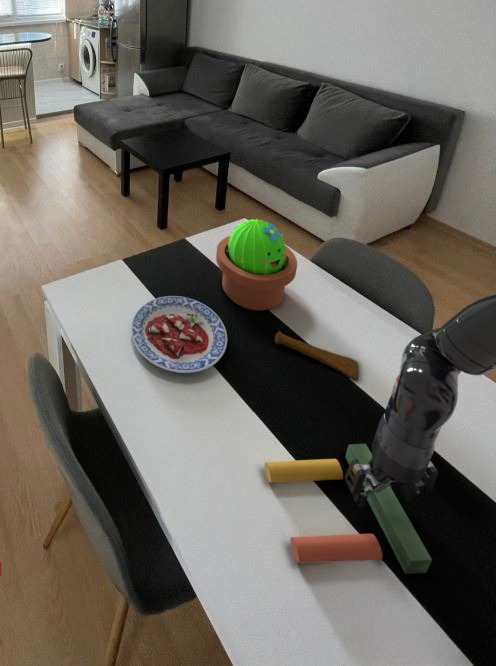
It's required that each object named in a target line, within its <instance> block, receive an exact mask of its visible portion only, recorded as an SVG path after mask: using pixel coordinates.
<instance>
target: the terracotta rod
mask: <svg viewBox="0 0 496 666" xmlns="http://www.w3.org/2000/svg"><path fill="white" fill-rule="evenodd" d="M289 541H290V547H291V552H292V555H293V558H294V560H295V562H296V563H297V564H309V563H310V564H311V563H333V562H359V561H361V562H362V561H381V560H382V559H383V551H382V547H381V545H380V543H379V540H378V539H377V537H376V536H375V534H373V533H359V534H358V533H357V534H333V535H332V534H331V535H330V534H329V535H328V534H327V535H308V536H291V537H290V539H289Z"/></svg>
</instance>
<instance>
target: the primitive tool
mask: <svg viewBox="0 0 496 666" xmlns="http://www.w3.org/2000/svg"><path fill="white" fill-rule="evenodd" d="M274 343H275V345H282V346H285V347H287V348H289V349H292V350H294V351H296V352H298V353H300V354H303V356H306V357H310V358H311V359H314V360H316V361H318V362H320V363H322V364H323V365H326V366H329V367H330V368H332V369H334V370H335V371H337V372H339V373H341V374H343V375H345V376H347V377H349V378H351V379H358V374H359V368H358V367H359V366H358V362H357V361H356V360H354V359H352V358H351V357H346V356H344V355H340V354H337V353H334V352H331V351H329V350H326V349H322V348H319V347H316V346H314V345H313V344H309V343H306V342H303V341H301V340H298V339H295V338H293V337H291V336H288V335H287V334H286V335H285V334H284V333H282V331H280V330H278V331H277V333H276V334H275V335H274Z"/></svg>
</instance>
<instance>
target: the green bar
mask: <svg viewBox="0 0 496 666" xmlns="http://www.w3.org/2000/svg"><path fill="white" fill-rule="evenodd" d="M345 459H346V461H347V464H348V465H349V466H350V463H351V461H352V460H353V459H357V460H358V461H359V463H360V464H367V463H368V462H369V461H370V460H371V459H372V451H371V450H370V448H369V447H368V445H367V444H366V443H356V444H354V443H353V444H351V443H350V444H348V445H347V448H346V453H345ZM349 466H348V467H349ZM371 476H372V478H373V480H374V482H375V484H376V485H377V484H378V483H379V482H378V481H377V480H376V479H375V478H374V477H373V475H372V474H371ZM363 485H364V487H365V488H366V487H367V486H368V483H367V481H364V482H363ZM367 502H368V504H369V507H370V508H371V510H372V512H373V515H374V516H375V518H376V520H377V522H378V525H379V526H380V528H381V530H382V532H383V534H384V535H385V538H386V540H387V542H388V543H389V545H390V547H391V549H392V551H393V554H394V555H395V557H396V559H397V561H398V563H399V564H400V566H401V567H400V568H401V569H402V571H403V572H404V574H405V575H410V574H426V573H427V572H428V570H429V568H430V566H431V563H432V561H433V558H432V557H431V556H430V554H429V552H428V550H427V548H426V546H425V545H424V543H423V542H422V540H421V538H420V537H419V535H418V532H417V531H416V529H415V528H414V525H413V524H412V522H411V520H410V519H409V517H408V515H407V514H406V511H405V510H404V508H403V507H402V506H403V505H401V503H400V501H399V499H398V498H397V496H396V494H395V492H394V491H393V489H392V487H387V488H385V489H384V490H382V491H381V492H379V493H376V492H372V493H371V494H369V495H368V498H367Z"/></svg>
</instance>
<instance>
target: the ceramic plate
mask: <svg viewBox="0 0 496 666" xmlns="http://www.w3.org/2000/svg"><path fill="white" fill-rule="evenodd" d="M130 333H131V339H132V341H133V344H134V346H135V348H136V349H137V350H138V352H139V354H141V355H142V357H143V358H145V359H146V360H147V361H148V362H150V363H151V364H153V366H156V367H158V368H160V369H163V370H165V371H169V372H172V373H179V374H193V373H198V372H201V371H204V370H207V369H209V368H211V367H213V366H214V365H215V364H216V363H218V362H219V361H220V359H222V357H223V356H224V354H225V352H226V349H227V346H228V334H227V329H226V327H225V324H224V322H223V321H222V319H221V318H220V316H219V315H218V314H217V313H216V312H215V311H214V310H213V309H212V308H210V307H208V305H205V304H204V303H202V302H200V301H198V300H195V299H193V298H189V297H186V296H178V295H168V296H167V295H166V296H160V297H157V298H154V299H151V300H149V301H147V302H145V303H144V304H143V305H141V306H140V308H138V310H137V311H136V312H135V314H134V316H133V317H132V320H131V325H130Z"/></svg>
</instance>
